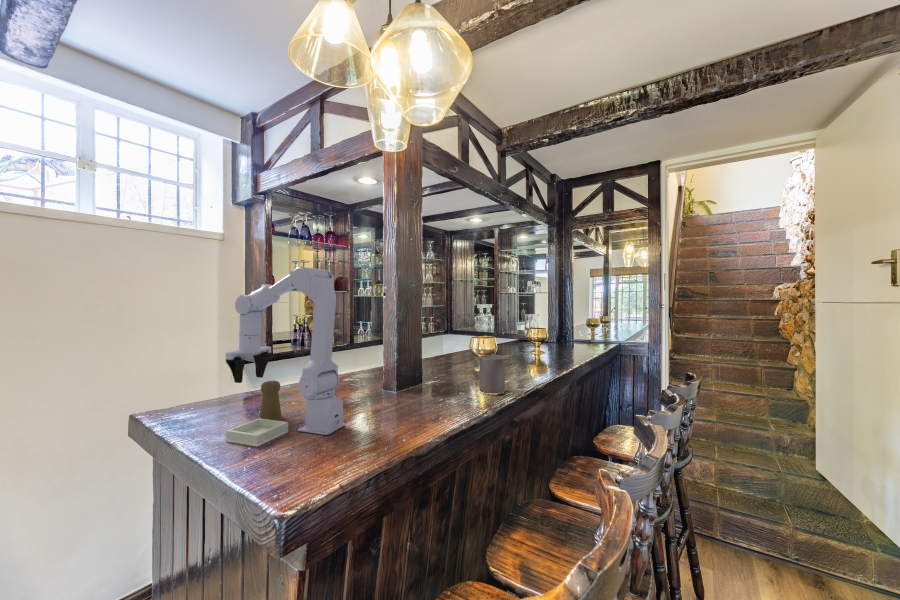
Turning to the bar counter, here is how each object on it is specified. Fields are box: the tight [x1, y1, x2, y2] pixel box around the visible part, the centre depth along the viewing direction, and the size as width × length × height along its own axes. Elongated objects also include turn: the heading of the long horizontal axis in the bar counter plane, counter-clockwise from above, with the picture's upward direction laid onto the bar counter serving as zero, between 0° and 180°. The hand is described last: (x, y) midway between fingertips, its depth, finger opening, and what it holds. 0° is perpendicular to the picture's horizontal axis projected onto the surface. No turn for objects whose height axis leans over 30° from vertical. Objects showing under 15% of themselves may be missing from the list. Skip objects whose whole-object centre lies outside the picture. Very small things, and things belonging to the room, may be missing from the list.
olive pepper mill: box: [258, 380, 283, 421], centre depth 105 cm, size 6×6×11 cm
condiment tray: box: [225, 417, 289, 448], centre depth 91 cm, size 10×10×3 cm
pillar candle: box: [478, 354, 506, 393], centre depth 136 cm, size 10×10×15 cm
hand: (249, 379), depth 108 cm, fingers open, 7 cm apart
